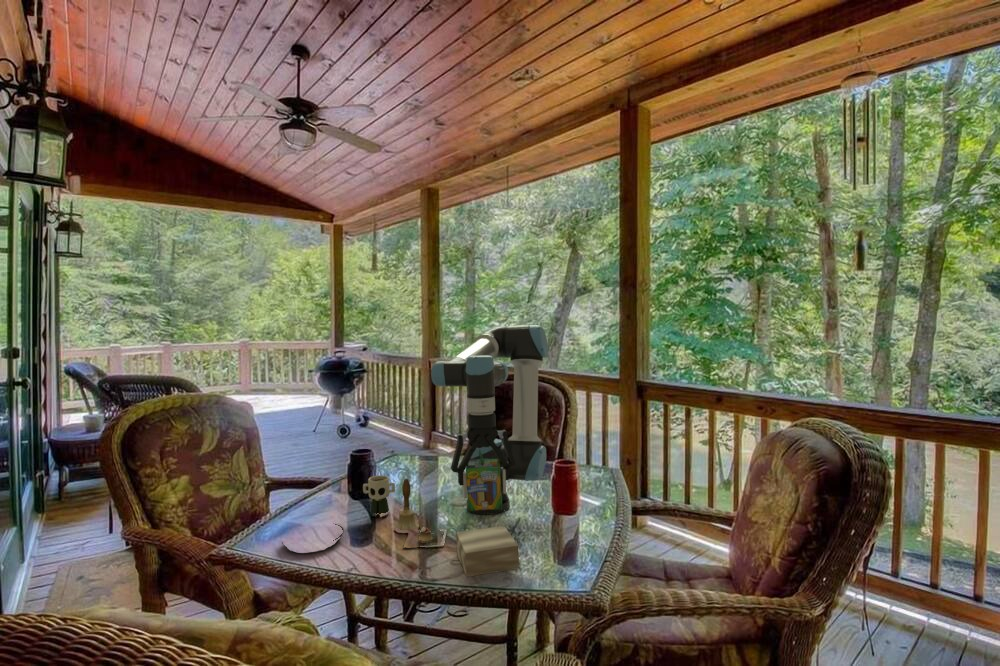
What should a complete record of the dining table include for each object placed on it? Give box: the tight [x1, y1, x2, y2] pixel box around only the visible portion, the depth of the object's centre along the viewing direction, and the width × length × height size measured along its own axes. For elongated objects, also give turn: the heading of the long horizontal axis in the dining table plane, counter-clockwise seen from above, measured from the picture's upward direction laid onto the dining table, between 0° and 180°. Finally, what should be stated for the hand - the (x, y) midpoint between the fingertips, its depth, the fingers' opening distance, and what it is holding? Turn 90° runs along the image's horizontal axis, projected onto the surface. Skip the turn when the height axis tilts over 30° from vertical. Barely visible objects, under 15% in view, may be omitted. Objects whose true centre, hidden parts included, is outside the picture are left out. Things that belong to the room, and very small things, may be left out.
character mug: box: [362, 475, 396, 514], centre depth 174 cm, size 11×7×13 cm, turn 90°
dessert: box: [418, 525, 448, 548], centre depth 153 cm, size 12×12×5 cm
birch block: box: [455, 525, 520, 578], centre depth 138 cm, size 14×14×6 cm
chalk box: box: [465, 449, 502, 512], centre depth 138 cm, size 9×9×15 cm
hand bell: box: [395, 478, 420, 530], centre depth 162 cm, size 8×8×16 cm
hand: (484, 494), depth 138 cm, fingers closed on chalk box, 10 cm apart
